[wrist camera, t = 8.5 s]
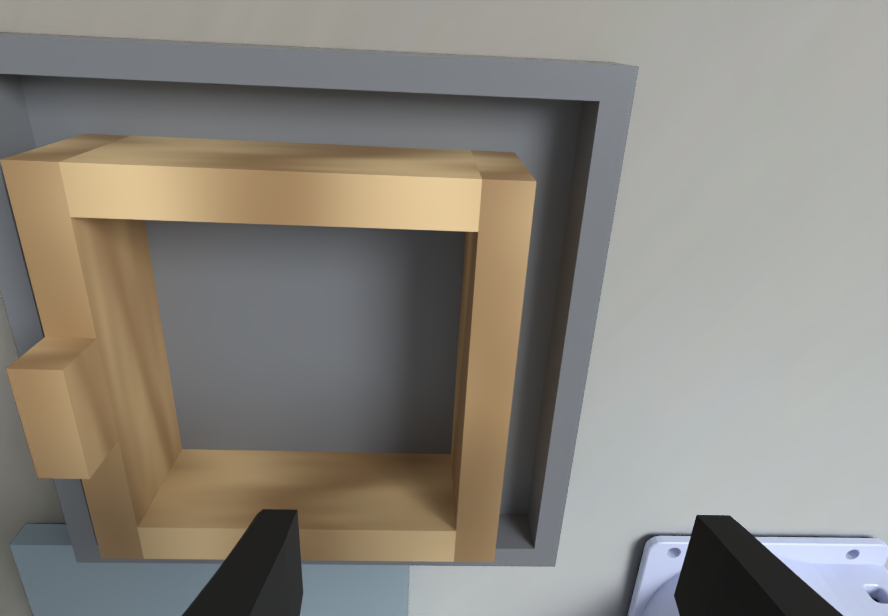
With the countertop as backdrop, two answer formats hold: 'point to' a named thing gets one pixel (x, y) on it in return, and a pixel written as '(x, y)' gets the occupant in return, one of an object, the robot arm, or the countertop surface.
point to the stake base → (181, 583)
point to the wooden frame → (146, 366)
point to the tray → (343, 251)
